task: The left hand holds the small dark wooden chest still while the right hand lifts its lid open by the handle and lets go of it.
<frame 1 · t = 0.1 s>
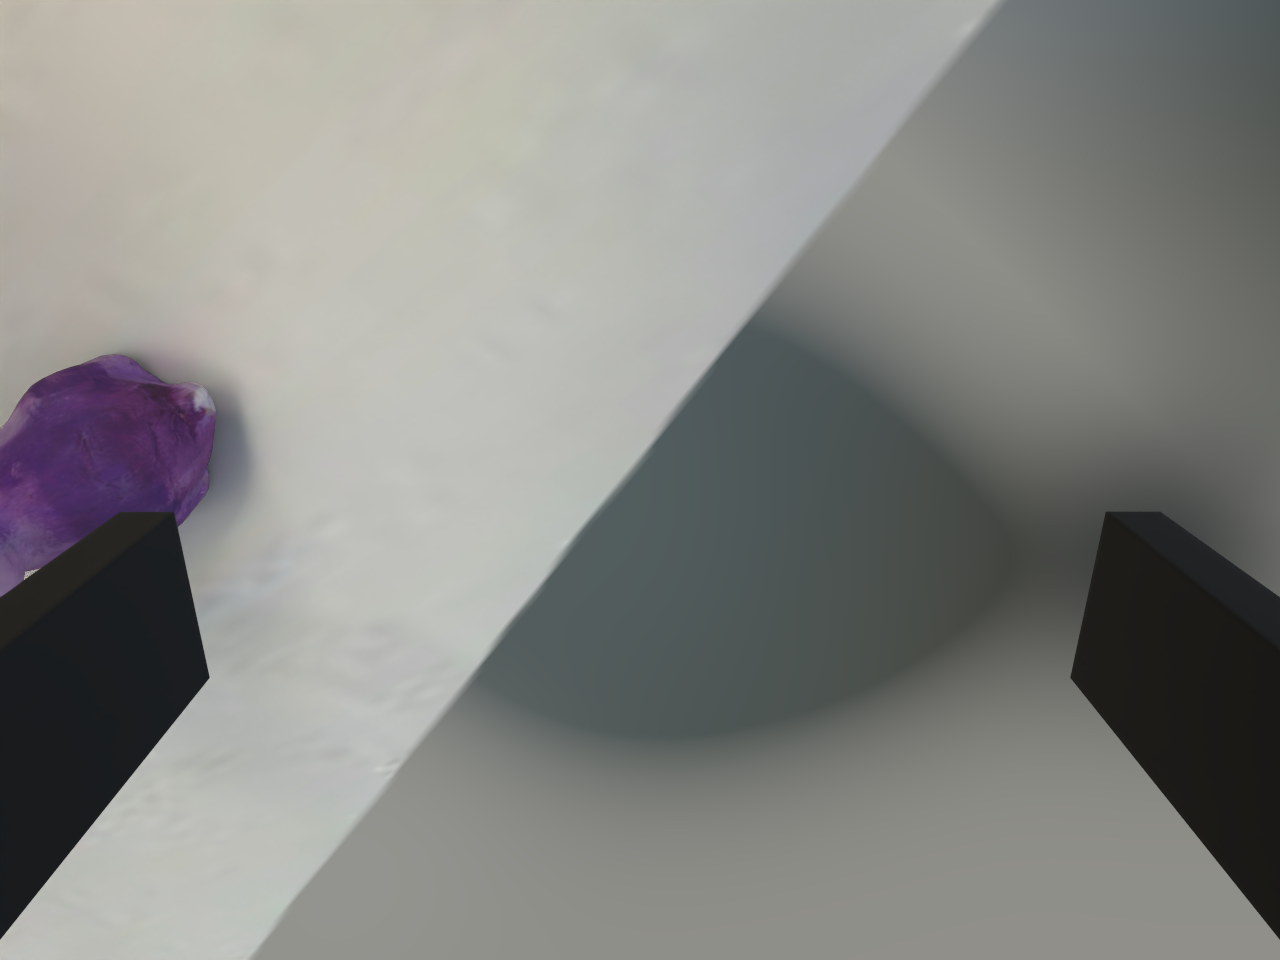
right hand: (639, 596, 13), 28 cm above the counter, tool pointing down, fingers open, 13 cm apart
figurine: (130, 453, 41), on the counter
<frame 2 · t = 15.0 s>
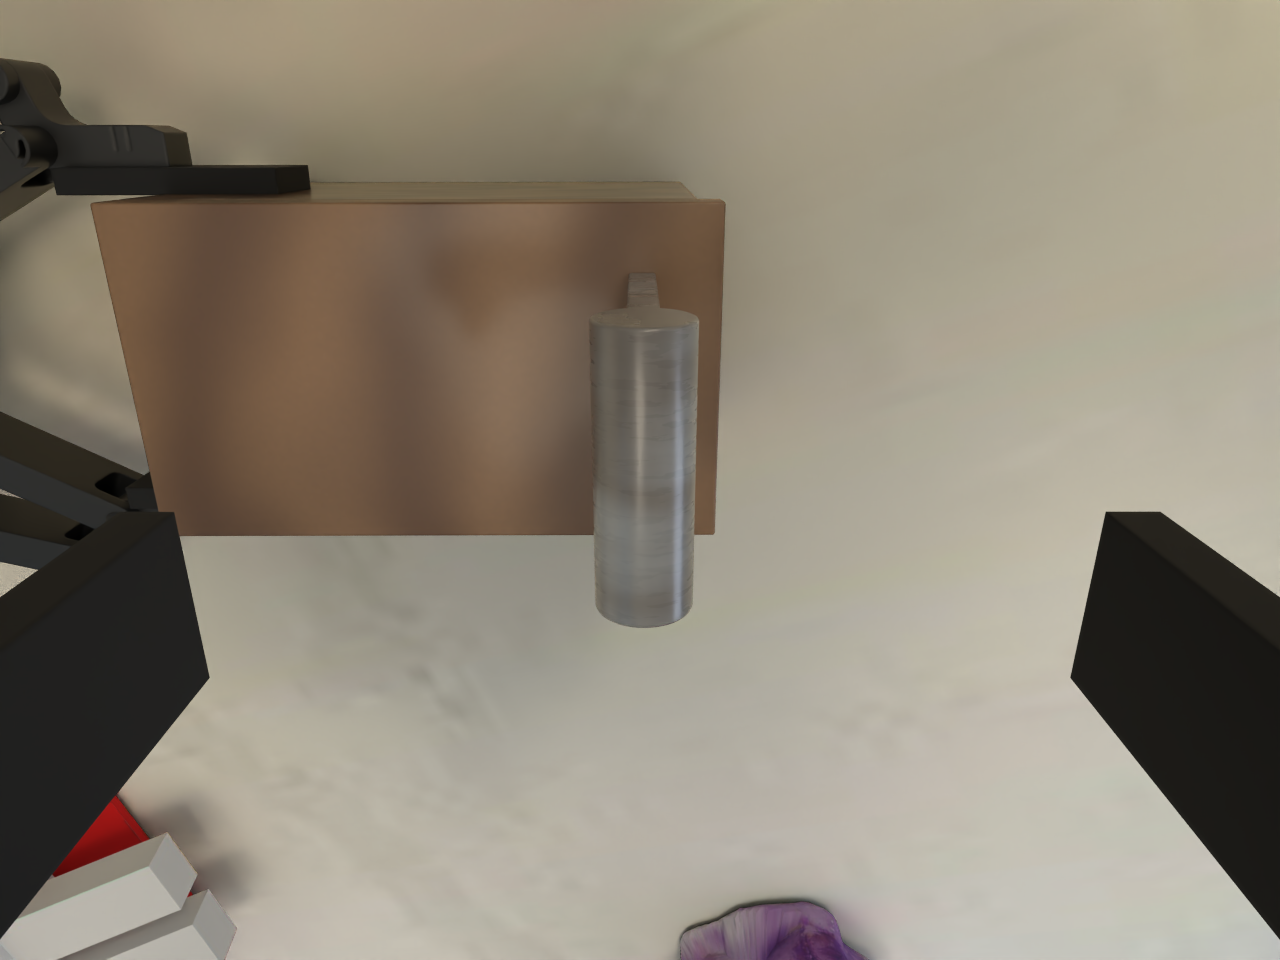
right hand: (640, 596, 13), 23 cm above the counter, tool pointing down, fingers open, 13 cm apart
lid: (392, 417, 21), point 15 cm above the counter, hinge at 0.0°
figurine: (760, 955, 47), on the counter
chest: (482, 307, 34), on the counter, touching left hand
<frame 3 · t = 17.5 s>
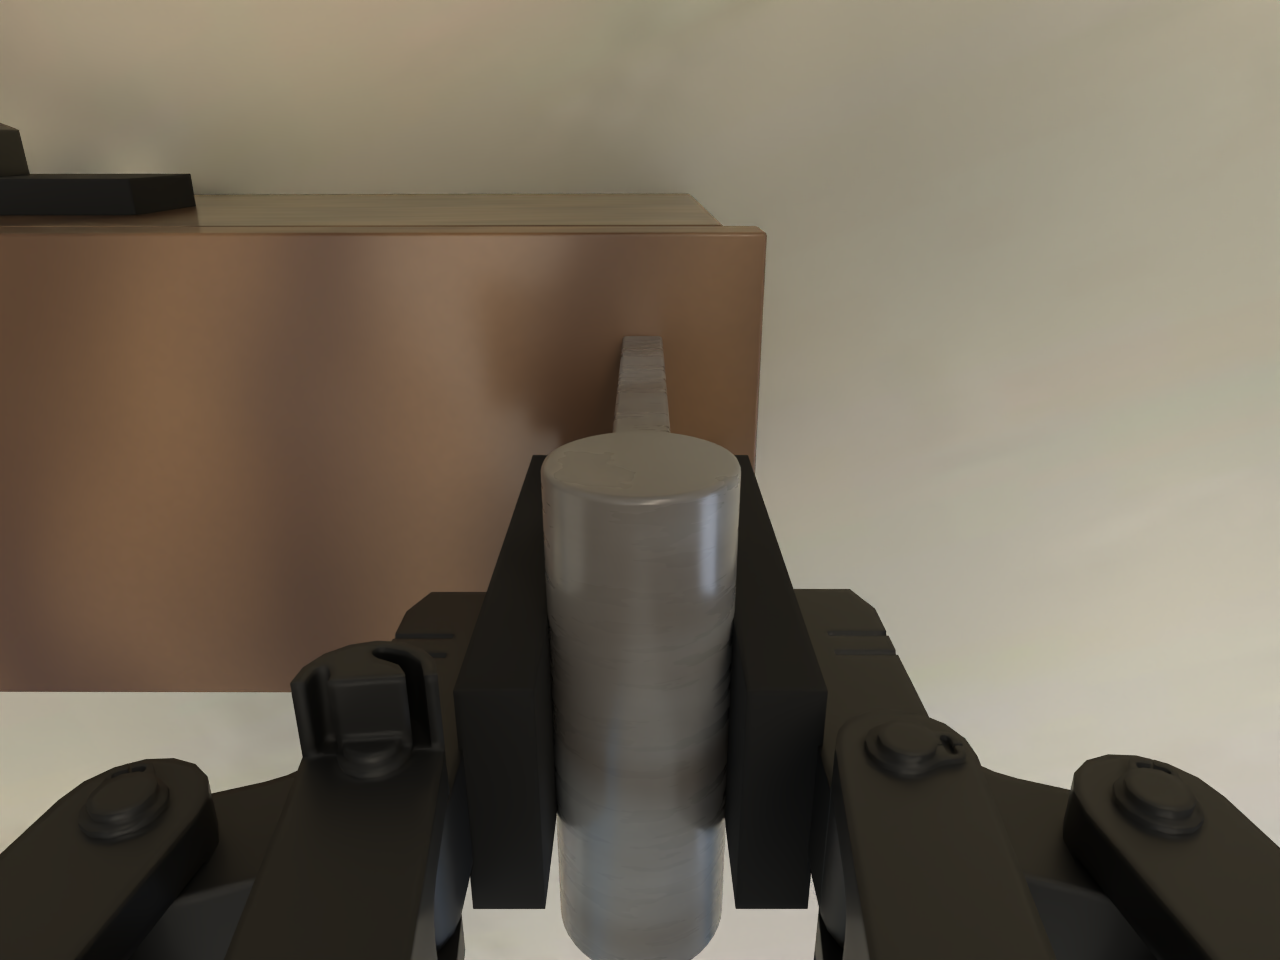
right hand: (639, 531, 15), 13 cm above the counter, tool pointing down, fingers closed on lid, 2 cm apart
lid: (255, 567, 13), point 15 cm above the counter, hinge at 0.8°, touching right hand
chest: (438, 351, 27), on the counter, touching left hand
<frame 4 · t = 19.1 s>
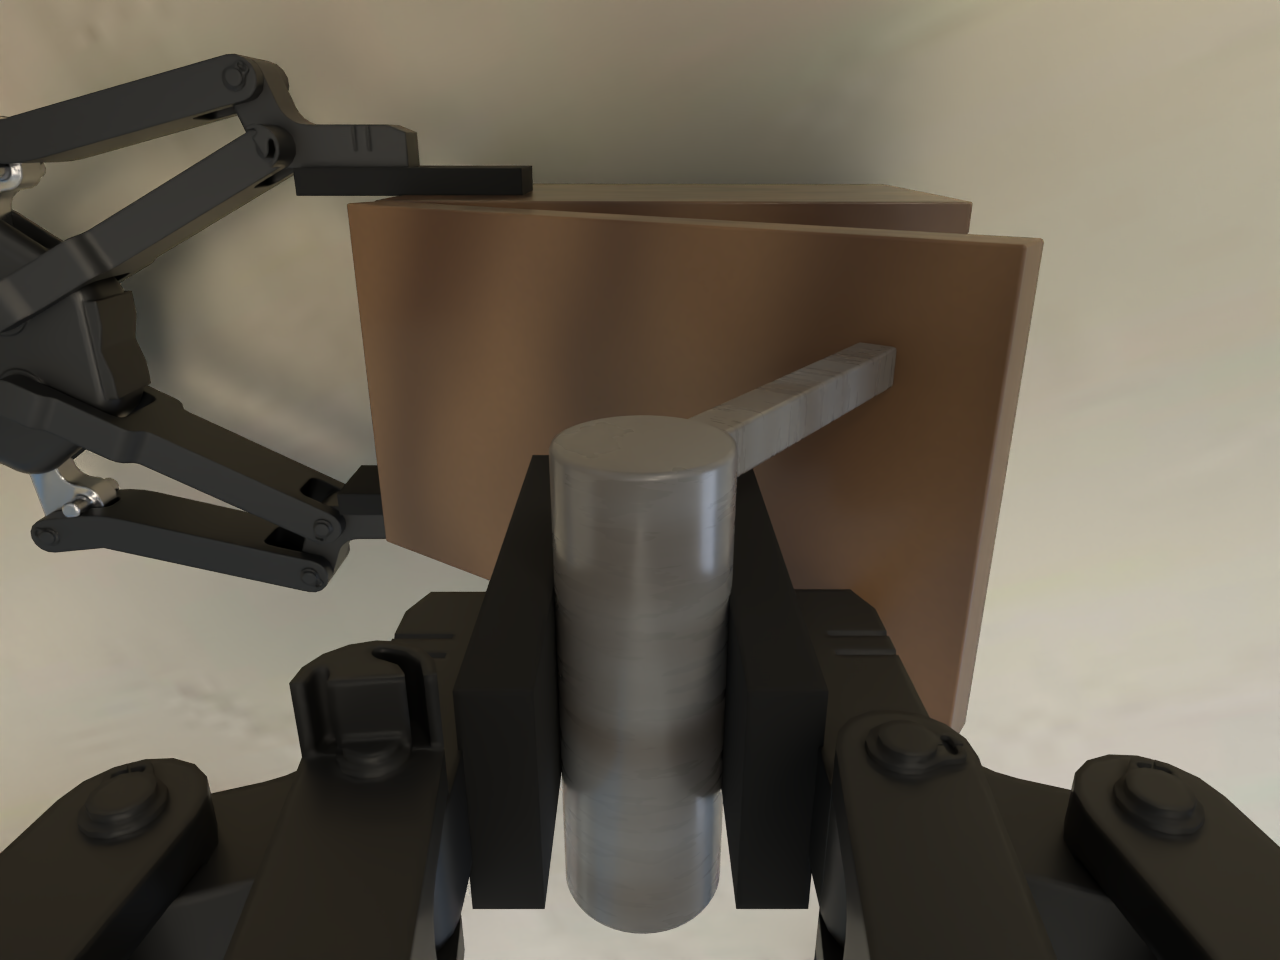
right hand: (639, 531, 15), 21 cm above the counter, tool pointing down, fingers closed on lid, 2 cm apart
left hand: (534, 344, 28), fingers closed on chest, 9 cm apart
lid: (495, 486, 16), point 19 cm above the counter, hinge at 33.7°, touching right hand
chest: (669, 311, 33), on the counter, touching left hand
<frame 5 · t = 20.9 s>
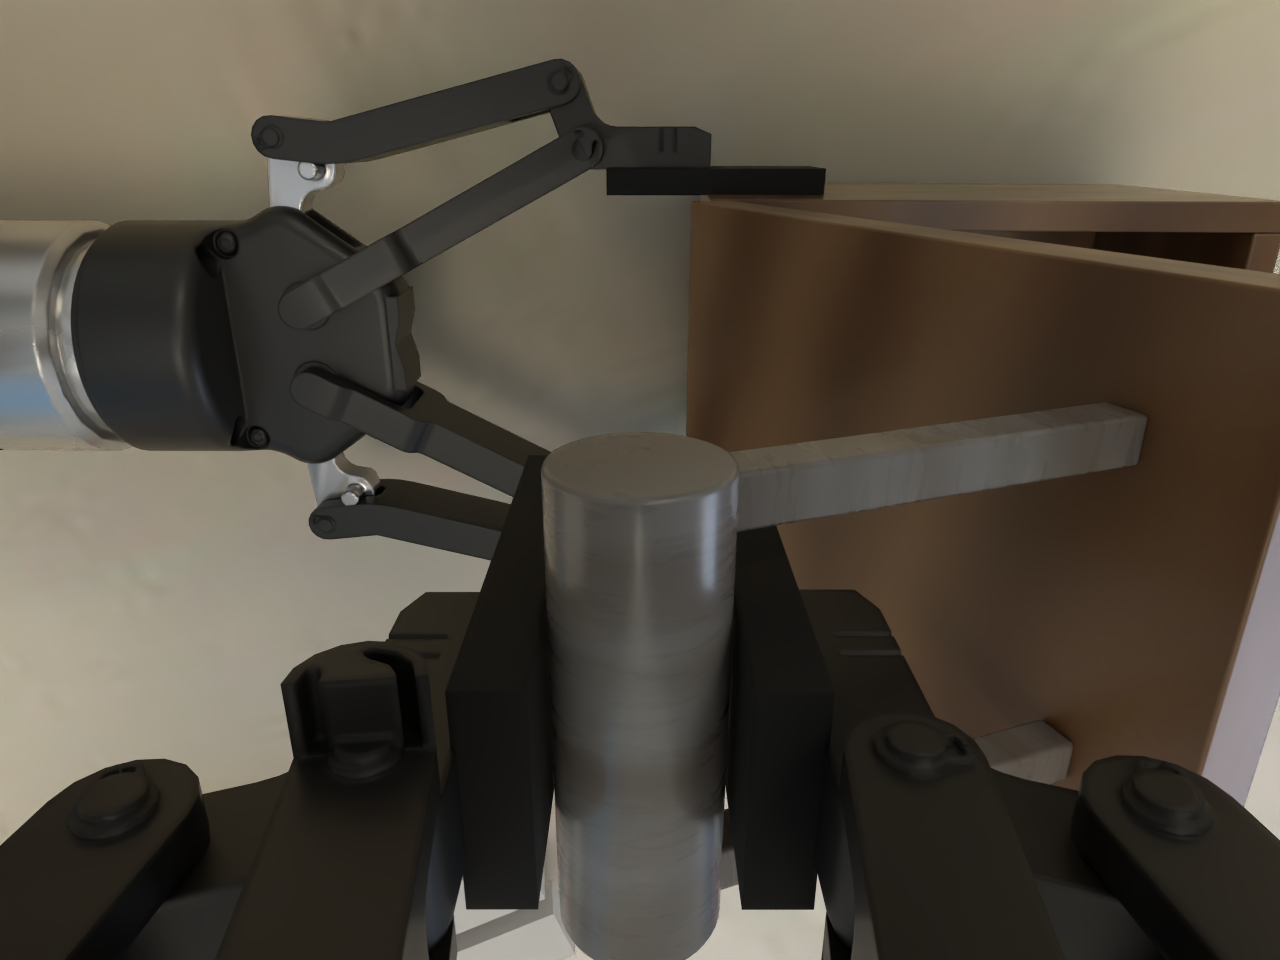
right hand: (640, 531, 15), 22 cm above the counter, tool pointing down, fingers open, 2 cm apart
left hand: (804, 339, 29), fingers closed on chest, 9 cm apart
lid: (699, 488, 16), point 20 cm above the counter, hinge at 66.6°
chest: (893, 307, 34), on the counter, touching left hand
toy: (294, 898, 46), on the counter
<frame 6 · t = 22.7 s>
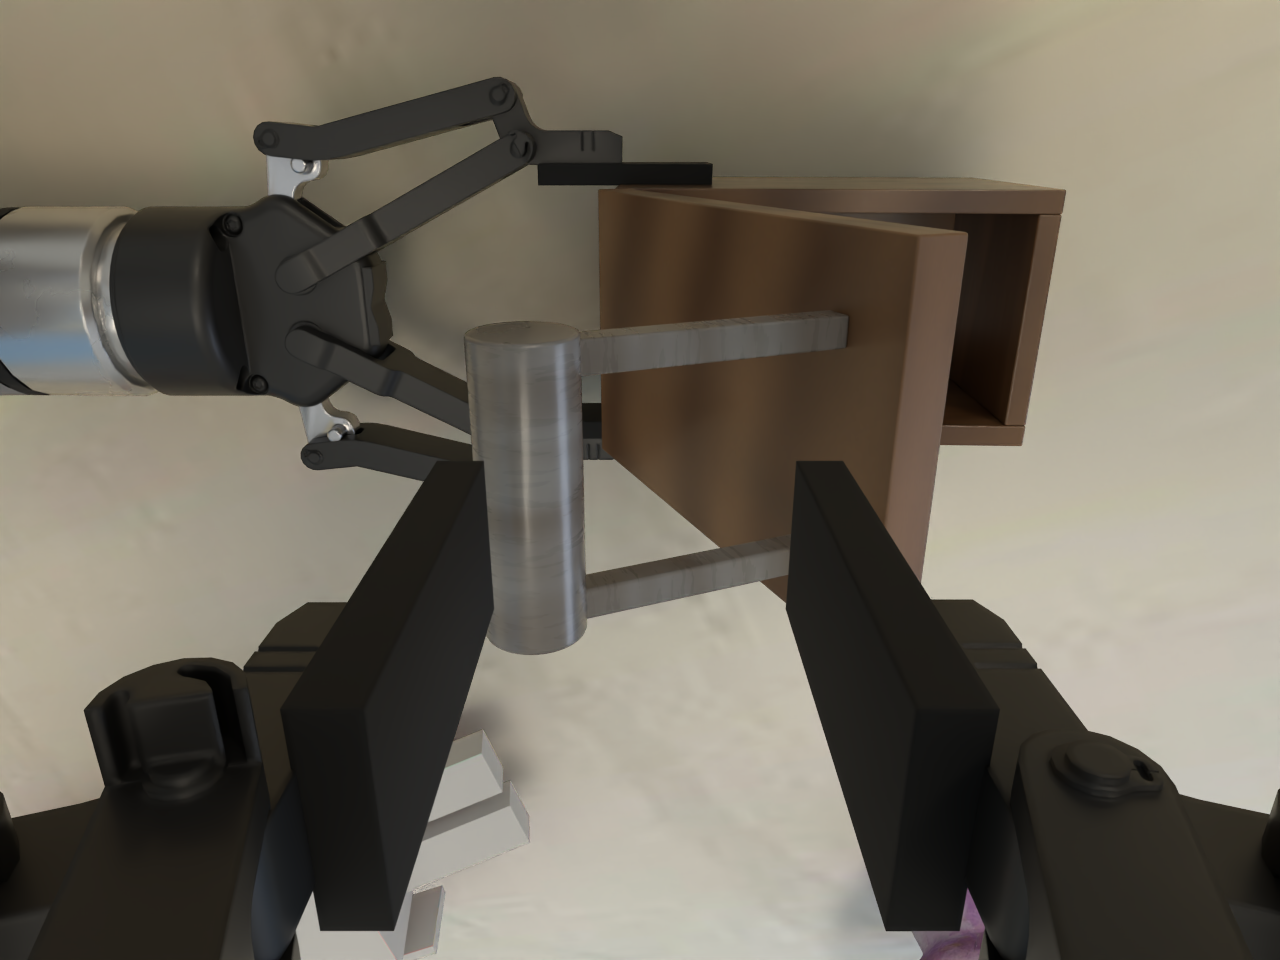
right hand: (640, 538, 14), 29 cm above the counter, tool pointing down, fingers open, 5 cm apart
left hand: (705, 303, 35), fingers closed on chest, 9 cm apart
lid: (591, 392, 23), point 20 cm above the counter, hinge at 64.5°
figurine: (956, 847, 54), on the counter
chest: (792, 281, 41), on the counter, touching left hand
toy: (287, 807, 53), on the counter
when the left hand's fingers open (6 cm above the counter, at t = 25.2 s): chest stays where it is, on the counter.
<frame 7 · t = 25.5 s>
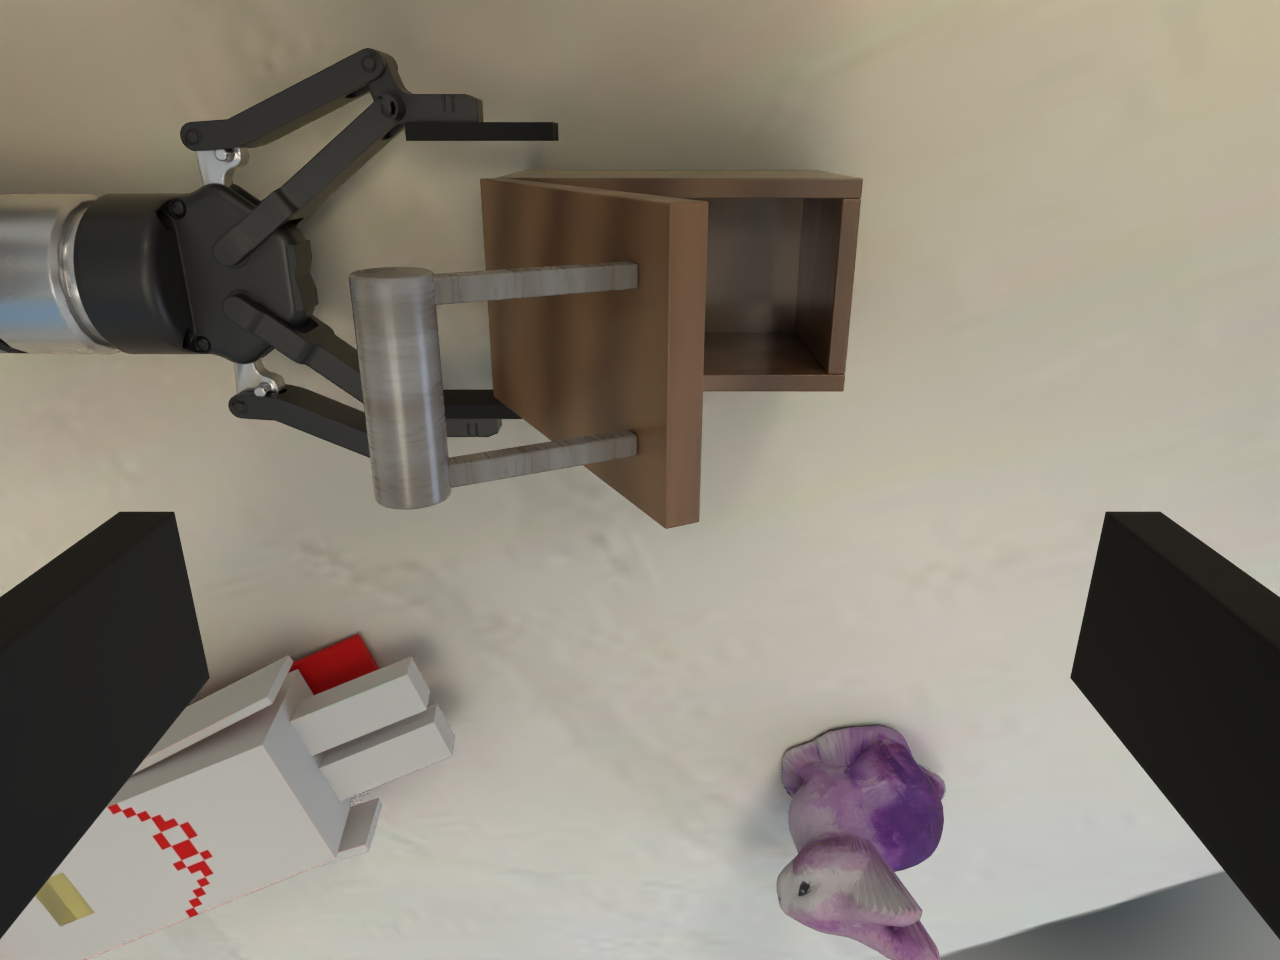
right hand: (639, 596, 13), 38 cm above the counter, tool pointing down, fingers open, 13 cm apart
left hand: (561, 275, 42), fingers open, 12 cm apart
lid: (466, 334, 29), point 20 cm above the counter, hinge at 62.7°
figurine: (843, 772, 60), on the counter
chest: (670, 260, 48), on the counter
toy: (244, 732, 59), on the counter
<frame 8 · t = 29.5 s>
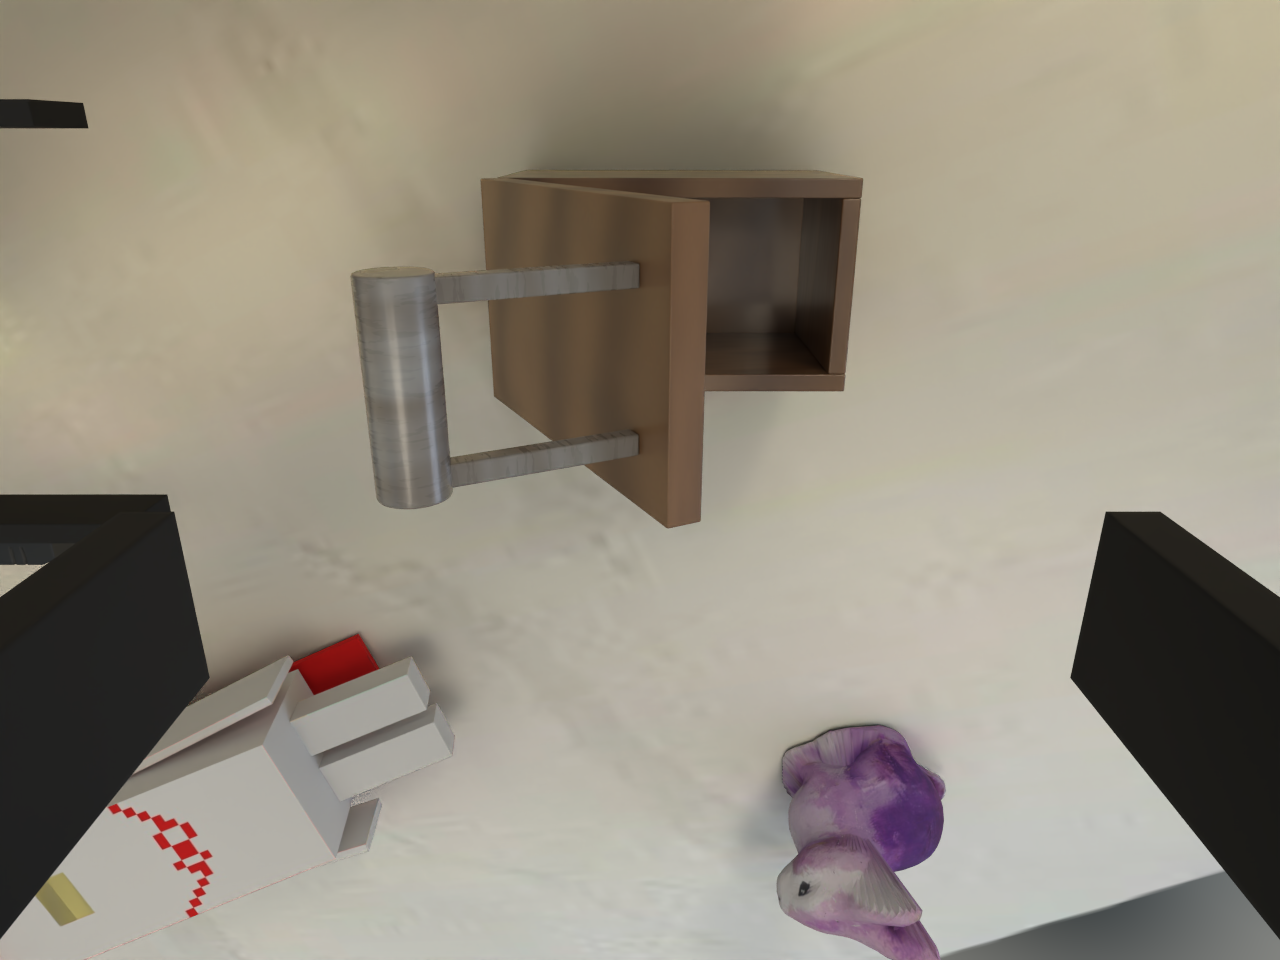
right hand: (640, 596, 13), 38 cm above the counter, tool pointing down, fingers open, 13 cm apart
lid: (467, 334, 29), point 20 cm above the counter, hinge at 62.7°
figurine: (843, 772, 60), on the counter
chest: (670, 260, 48), on the counter
toy: (244, 732, 59), on the counter
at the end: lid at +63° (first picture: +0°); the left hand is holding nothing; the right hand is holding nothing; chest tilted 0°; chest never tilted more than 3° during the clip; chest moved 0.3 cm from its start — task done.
